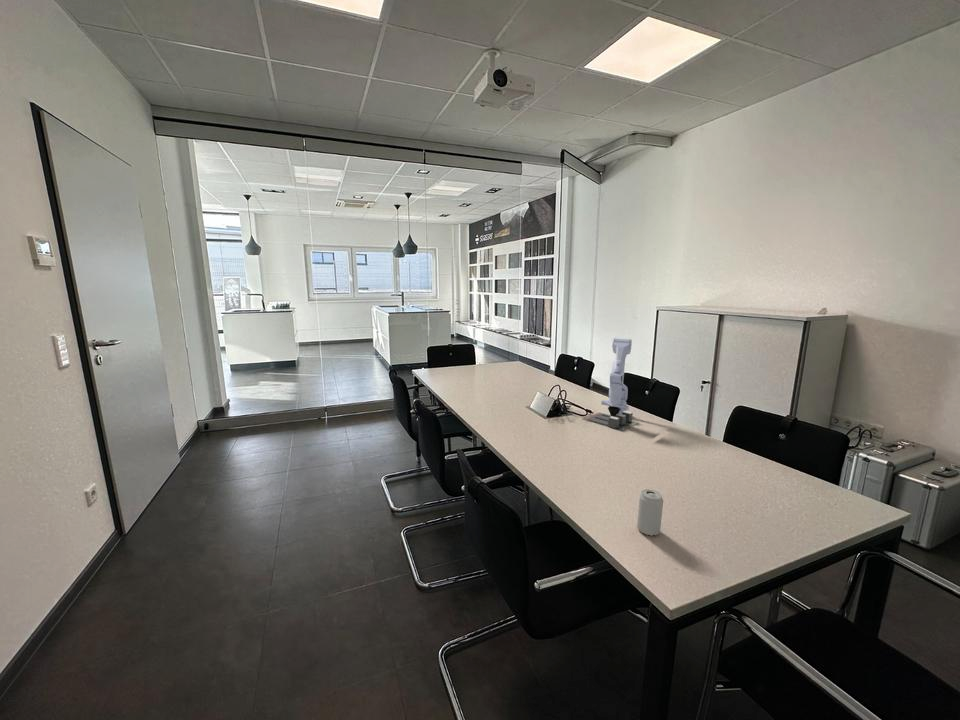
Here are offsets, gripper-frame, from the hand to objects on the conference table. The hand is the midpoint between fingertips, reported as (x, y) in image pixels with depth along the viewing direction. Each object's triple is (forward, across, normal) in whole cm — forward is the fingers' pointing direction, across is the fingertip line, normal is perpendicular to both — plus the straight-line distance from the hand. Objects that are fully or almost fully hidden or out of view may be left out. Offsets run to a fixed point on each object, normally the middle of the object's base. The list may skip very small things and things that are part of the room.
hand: (613, 420), depth 209 cm
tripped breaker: (+1, +4, 0) cm, 4 cm away
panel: (+3, -2, 0) cm, 3 cm away
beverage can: (+3, +55, -78) cm, 96 cm away
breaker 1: (+1, +4, -7) cm, 8 cm away
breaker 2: (+1, +4, +7) cm, 8 cm away
